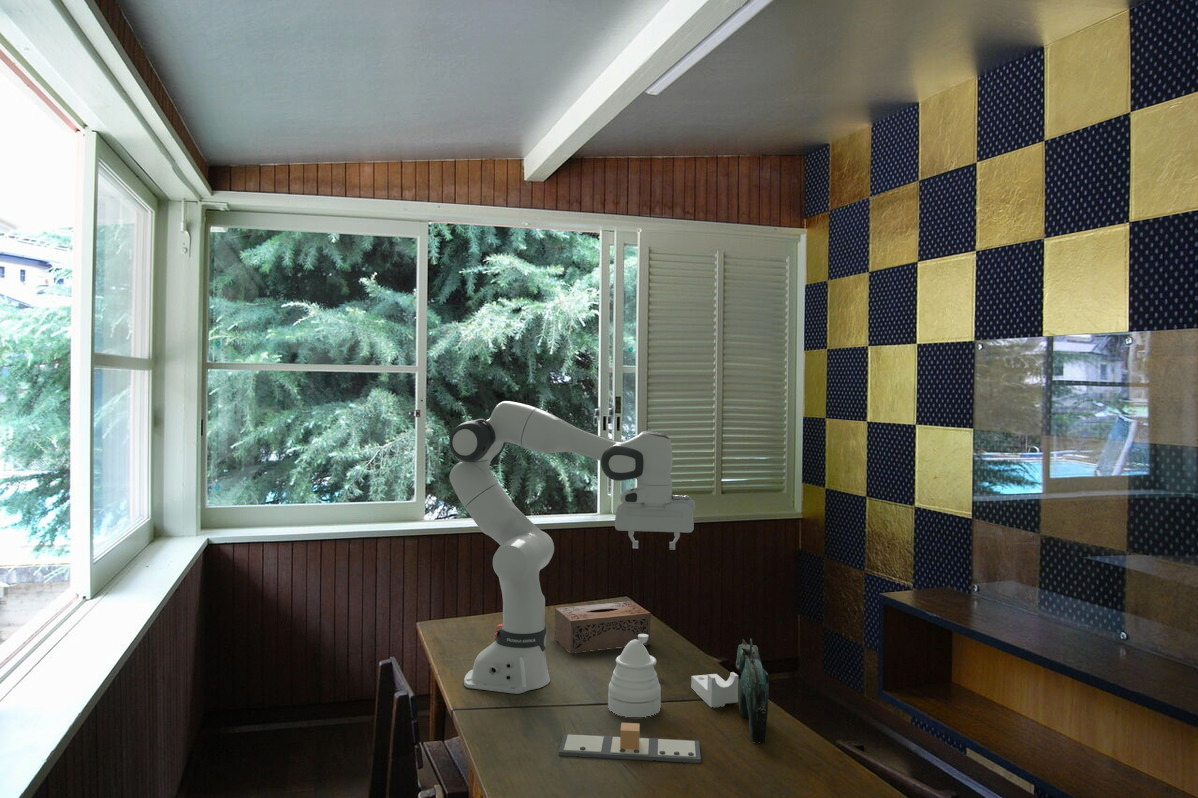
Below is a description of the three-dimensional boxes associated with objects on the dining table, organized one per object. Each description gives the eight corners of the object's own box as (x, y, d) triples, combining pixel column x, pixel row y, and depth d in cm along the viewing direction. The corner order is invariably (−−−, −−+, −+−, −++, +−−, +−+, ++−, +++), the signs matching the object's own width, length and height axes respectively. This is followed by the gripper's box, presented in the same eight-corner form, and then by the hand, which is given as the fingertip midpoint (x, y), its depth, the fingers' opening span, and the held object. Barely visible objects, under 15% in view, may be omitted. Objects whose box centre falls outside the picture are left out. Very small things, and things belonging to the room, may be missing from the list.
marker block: (620, 748, 176) (620, 730, 176) (621, 740, 180) (621, 722, 180) (638, 749, 176) (639, 731, 176) (639, 741, 180) (639, 723, 180)
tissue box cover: (630, 632, 263) (631, 601, 263) (650, 645, 250) (650, 613, 250) (554, 640, 254) (555, 607, 253) (570, 654, 240) (570, 620, 240)
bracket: (737, 706, 204) (738, 675, 204) (711, 708, 202) (711, 678, 202) (716, 687, 216) (716, 658, 216) (691, 689, 214) (691, 660, 214)
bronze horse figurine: (733, 709, 201) (735, 628, 201) (760, 710, 201) (761, 628, 201) (745, 745, 181) (747, 654, 181) (775, 745, 181) (776, 655, 181)
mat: (558, 755, 175) (558, 749, 175) (563, 737, 184) (563, 732, 184) (700, 763, 172) (700, 757, 172) (698, 744, 181) (699, 738, 181)
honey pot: (666, 701, 205) (667, 630, 205) (652, 721, 193) (654, 645, 193) (617, 694, 209) (618, 624, 209) (600, 713, 197) (602, 639, 197)
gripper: (695, 494, 212) (694, 547, 213) (616, 492, 214) (615, 545, 214) (696, 497, 206) (695, 552, 206) (614, 495, 208) (613, 550, 208)
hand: (653, 548), depth 210 cm, fingers open, 8 cm apart
